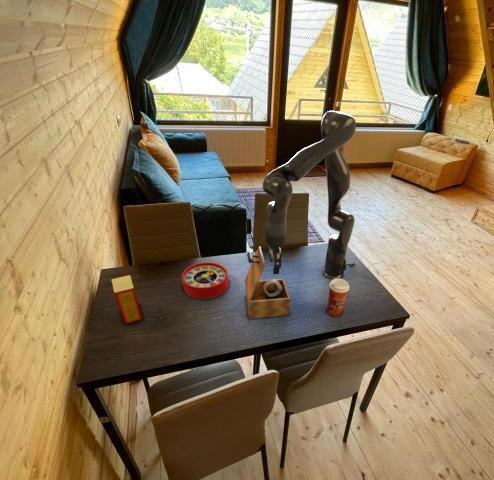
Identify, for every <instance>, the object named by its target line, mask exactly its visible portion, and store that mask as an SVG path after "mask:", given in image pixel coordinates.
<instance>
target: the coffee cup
mask: <svg viewBox="0 0 494 480" xmlns="http://www.w3.org/2000/svg"><path fill="white" fill-rule="evenodd" d="M328 286H329V291H328V299H327V300H328V301H327V313H328V314H329V315H330V316H335V317H337V316H339V315H341V314H342V311H343V308H344V305H345V302H346V299H347V295H348V291H350V284H349V282H348V281H347V280H345V279H344V278H341V277H340V278H336V279H332V280H331V281H330V282H329V284H328Z"/></svg>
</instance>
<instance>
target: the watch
mask: <svg viewBox="0 0 494 480" xmlns="http://www.w3.org/2000/svg"><path fill="white" fill-rule="evenodd" d="M275 279H276V280H275ZM277 279H278V278H270V279H267V280H268V281H267V282H266V283H265V284H264V286H263V289H264V291H265V293H266V300H267V299H279V297H278V295H279V294H280V293H281V291H282V286H281V285H280V283H279V282H278V280H277ZM271 283H275V284H276V286H277V288H278V290H277V291H269V292H267V291H266V287H267V286H268V285H269V284H271Z"/></svg>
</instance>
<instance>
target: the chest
mask: <svg viewBox="0 0 494 480" xmlns="http://www.w3.org/2000/svg"><path fill="white" fill-rule="evenodd" d="M274 279H275V280H276V279H277V280H278V282H279V283H280V285H281V286H282V291H281V293H280V294H279V295H278V297H279V299H267V300H266V293H265V291H264V289H263V286H264V284H265V283H266V282H267V281H268V280H269V279H260V280H259V282H258V284H257V286H256V289H255V291H254V293H253V295H252V298H251V300H250V302H249V301H248V298H247V292H246V291H245V301H246V308H247V314H248V319H249V320H251V319H252V320H253V319H261V318H263V319H264V318H272V317H283V316H290V309H291V295H290V293H289V289H288V286H287V284H286V281H285V278H274ZM277 290H278V288H277V286H276V284H275V283H271V284H269V285H268V286H267V287H266V291H267V292H269V291H277Z"/></svg>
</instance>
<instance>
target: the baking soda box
mask: <svg viewBox="0 0 494 480" xmlns="http://www.w3.org/2000/svg"><path fill="white" fill-rule="evenodd" d="M111 283H112V284H111V285H112V289H113V294H114V296H115V299H116V302H117V306H118V308H119V311H120V314H121V317H122V320H123V323H124V325H128V324H132V323H134V322H138V321H142V320H144V318H143V315H142V311H141V308H140V305H139V300H138V297H137V294H136V291H135V288H134V285H133V280H132V277H131V274H127V275H122V276H119V277H113V278H111Z"/></svg>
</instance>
